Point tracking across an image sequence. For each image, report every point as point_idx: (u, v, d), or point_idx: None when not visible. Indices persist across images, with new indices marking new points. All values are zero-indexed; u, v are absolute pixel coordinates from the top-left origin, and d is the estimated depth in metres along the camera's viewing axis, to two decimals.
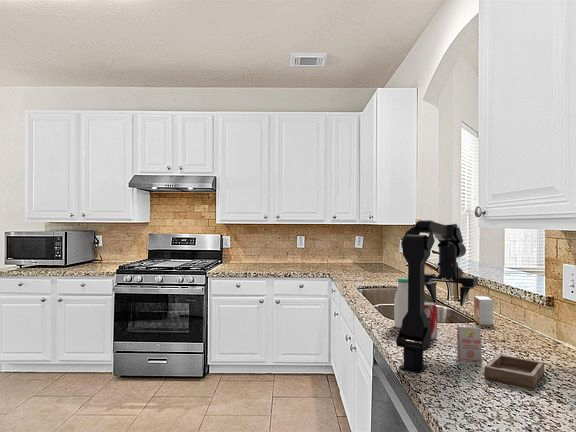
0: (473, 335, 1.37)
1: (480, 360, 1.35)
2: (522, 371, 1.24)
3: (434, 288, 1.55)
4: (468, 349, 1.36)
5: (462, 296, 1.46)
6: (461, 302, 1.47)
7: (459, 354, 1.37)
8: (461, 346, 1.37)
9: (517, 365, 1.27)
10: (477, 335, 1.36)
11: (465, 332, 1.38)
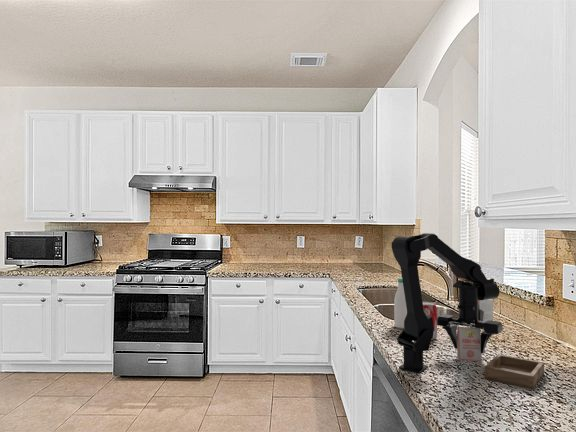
0: (473, 335, 1.37)
1: (480, 360, 1.35)
2: (522, 371, 1.24)
3: (455, 332, 1.41)
4: (468, 348, 1.36)
5: (483, 343, 1.33)
6: (482, 349, 1.34)
7: (459, 354, 1.37)
8: (461, 346, 1.37)
9: (517, 365, 1.27)
10: (477, 335, 1.36)
11: (465, 332, 1.38)
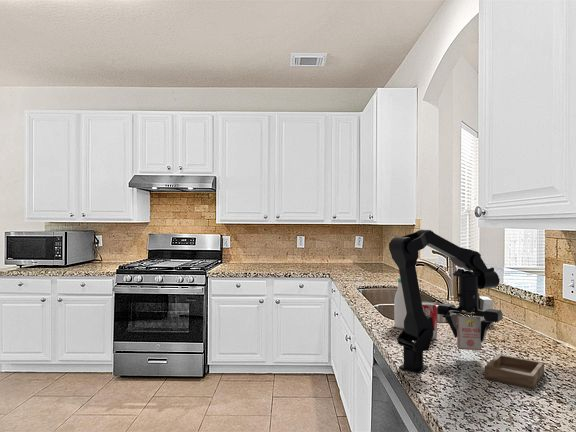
0: (473, 324, 1.37)
1: (480, 349, 1.35)
2: (522, 371, 1.24)
3: (455, 321, 1.41)
4: (468, 337, 1.36)
5: (483, 331, 1.33)
6: (482, 337, 1.34)
7: (459, 343, 1.37)
8: (461, 335, 1.37)
9: (517, 365, 1.27)
10: (477, 324, 1.36)
11: (465, 321, 1.38)
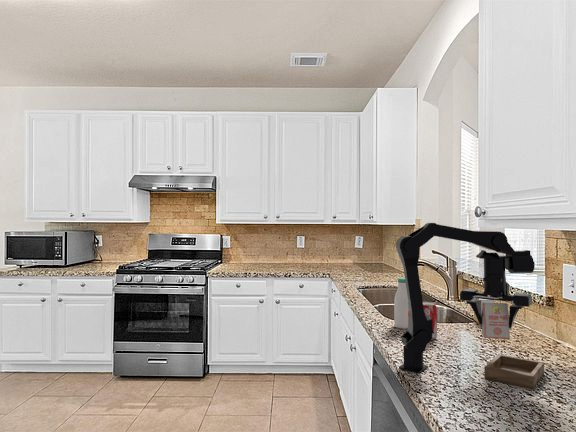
0: (500, 311, 1.27)
1: (508, 337, 1.26)
2: (522, 371, 1.24)
3: (479, 307, 1.31)
4: (495, 325, 1.27)
5: (512, 317, 1.24)
6: (510, 324, 1.25)
7: (485, 331, 1.27)
8: (487, 323, 1.27)
9: (517, 365, 1.27)
10: (504, 311, 1.27)
11: (491, 308, 1.28)
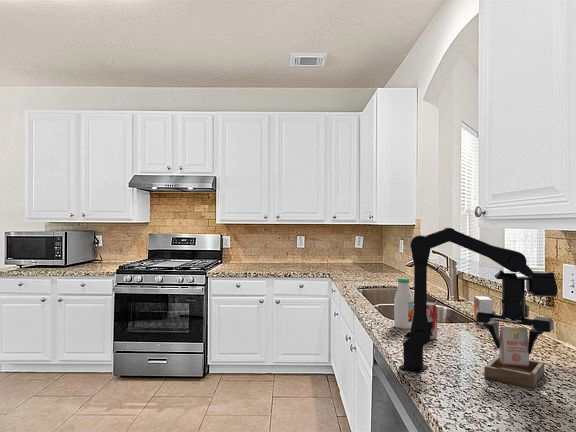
0: (519, 336, 1.21)
1: (527, 364, 1.20)
2: (522, 371, 1.24)
3: (497, 330, 1.25)
4: (513, 351, 1.21)
5: (532, 342, 1.17)
6: (530, 349, 1.19)
7: (503, 357, 1.21)
8: (505, 348, 1.21)
9: None
10: (524, 336, 1.21)
11: (510, 333, 1.22)
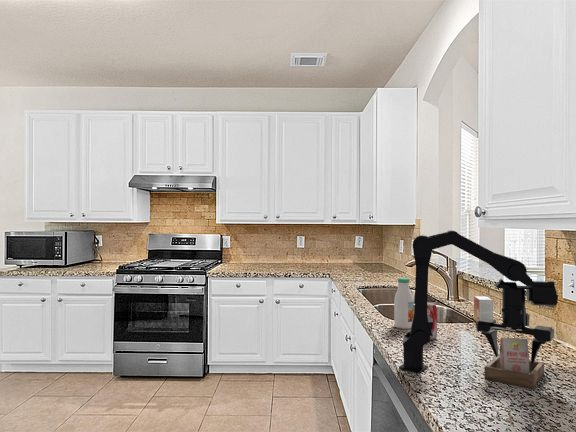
0: (519, 347, 1.21)
1: None
2: None
3: (495, 338, 1.25)
4: (514, 362, 1.20)
5: (534, 352, 1.17)
6: (533, 359, 1.18)
7: (503, 368, 1.21)
8: (505, 359, 1.21)
9: None
10: (524, 347, 1.21)
11: (510, 343, 1.22)
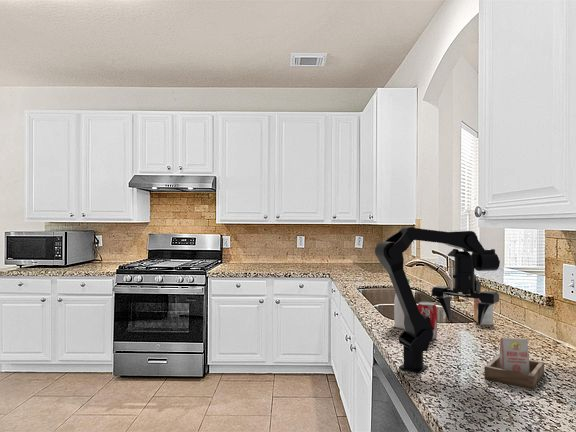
0: (519, 347, 1.21)
1: None
2: None
3: (448, 303, 1.37)
4: (514, 362, 1.20)
5: (480, 313, 1.28)
6: (479, 320, 1.29)
7: (503, 368, 1.21)
8: (505, 359, 1.21)
9: None
10: (524, 347, 1.21)
11: (510, 343, 1.22)
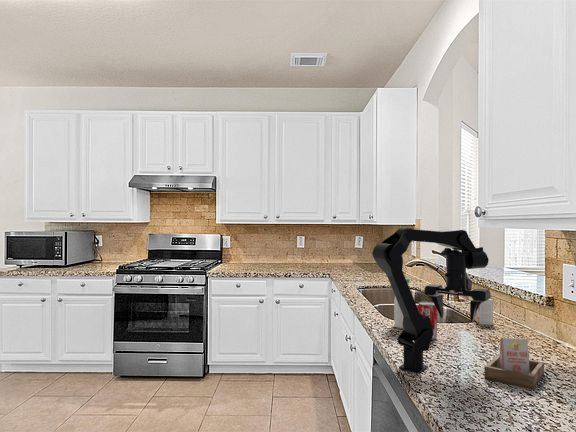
0: (519, 347, 1.21)
1: None
2: None
3: (441, 301, 1.39)
4: (514, 362, 1.20)
5: (473, 311, 1.30)
6: (471, 318, 1.31)
7: (503, 368, 1.21)
8: (505, 359, 1.21)
9: None
10: (524, 347, 1.21)
11: (510, 343, 1.22)
